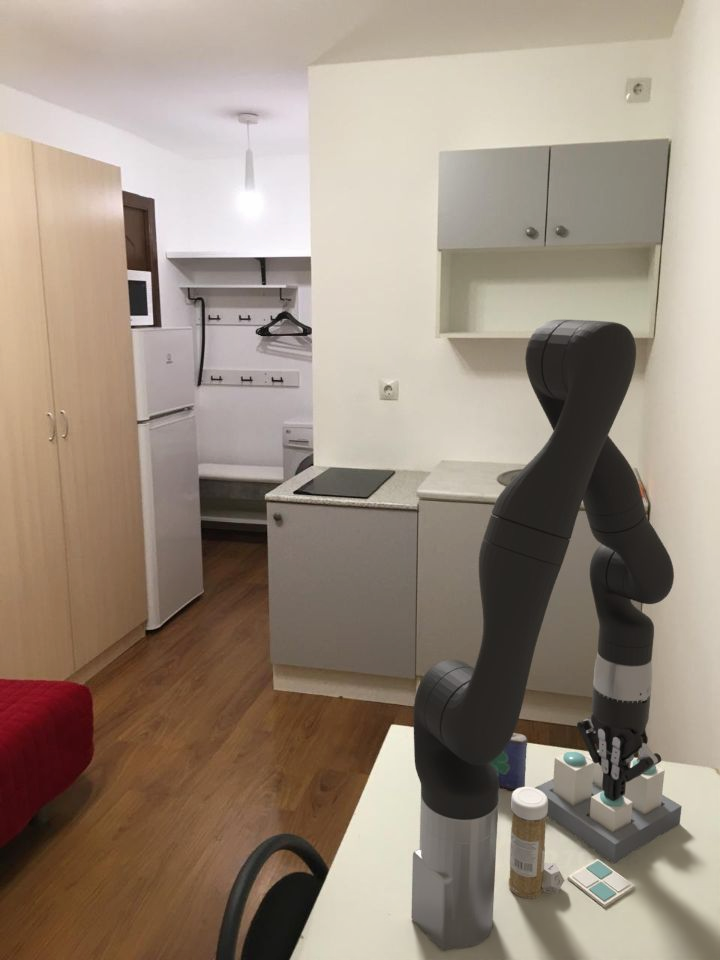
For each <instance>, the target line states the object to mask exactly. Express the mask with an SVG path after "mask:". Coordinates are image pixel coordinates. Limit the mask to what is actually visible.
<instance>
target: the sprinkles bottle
mask: <svg viewBox="0 0 720 960" xmlns="http://www.w3.org/2000/svg"><path fill="white" fill-rule="evenodd" d="M510 800H511V803H510V804H511V805H510V808H511V813H512V814H511V828H510V844H509V845H510V847H509V849H510V850H509V878H508V886H509V888H510V890H511V891H512V892H513V893H514V895H515V894H516V895H517V896H519V897H521V898H525V899H533V898H537V897H540V896H541V894H542V893H543V892H544V890H543V888H542V882H543V870H544V863H545V859H546V858H545V852H546V846H545V843H546V821H547V819H546V817H547V816H546V815H547V812H548V799H547V796H546V795H545V794H544V793H543V792H542V791H540V790H538V789H536V788H535V787H533V786H532V787H531V786H525V787H521V788H518V789H516V790H515V791H514V792H511V799H510Z"/></svg>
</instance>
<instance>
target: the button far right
mask: <svg viewBox="0 0 720 960" xmlns="http://www.w3.org/2000/svg"><path fill="white" fill-rule="evenodd" d="M637 759H638V758H636V759H633V760H632V761H631V765H630V768H632V767H633V766H634V765H636V764H637V763H639V762H637ZM664 781H665V769H663V768H661V767H660V766H658V765H657V764H656V765H655V766H653V767H652V768H650V769H649V770H647V771H646V772H644V773H643V774H641V775H640V776H638V777H635V778H634V779H632V780H631V781H629V782H626V787H625V794H624V797H625V798H627V799H629V800H630V801H632V802H633V803H632V808H634V809H635V810H637V811H638V812H640V813H641V814H643V815H647V814H649V813H650V812H652V811H654V810H656V809H657V808H659V807H661V801H662V795H663V790H664Z"/></svg>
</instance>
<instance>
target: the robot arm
mask: <svg viewBox="0 0 720 960" xmlns="http://www.w3.org/2000/svg"><path fill="white" fill-rule="evenodd" d="M525 349H526V351H525V357H524V358H525V359H524V360H525V370H526V373H527V377H528V380H529V383H530V386H531V388H532V390H533V392H534V394H535V397H536V399H537V400H538V402H539V404H540V406H541V408H542V410H543V412H544V413H545V416H546V418H547V420H548V422H549V424H550V426H551V428H552V431H553V432H552V433H551V435H550V437H549V438H548V440H547V442H545V444H544V446H543V447H542V448H541V450H540V451H539V452H538V453H537V454H536V455H535V456H534V457H533V458H532V459H531V460H530V461H528V463H527V464H526V465H525V466H524V467H523V468H522V469H521V470H520V471H519V472H518V473H517V474H516V475H515V476H514V477H513V478H512V479H511V481H510V482H509V483H508V484H507V485H506V486H505V487H504V488H503V490H502V491H501V493H500V494H499V496H498V497H497V498H496V500H495V503H494V505H493V508H492V511H491V514H490V517H489V519H488V524H487V527H486V529H485V532H484V535H483V538H482V542H481V544H480V549H479V554H478V556H479V557H478V578H479V579H478V580H479V582H478V583H479V589H480V598H481V608H482V617H483V618H482V621H483V623H482V637H481V641H480V642H481V644H480V647H479V648H480V649H479V652H478V656H477V660H476V662H475V665H474V667H473V666H471V665H470V664H468V663H466V662H464V661H463V660H462V661H461V660H458V659H446V660H445V659H444V660H442V661H439V662H437V663H436V664H434V665H433V666H431V667H430V668H429V669H428V670H427V671H426V672H425V673H424V676H423V677H422V678H421V680H420V682H419V683H418V687H417V690H416V693H415V695H414V696H415V697H414V704H413V714H412V715H413V720H412V721H413V722H412V723H413V750H414V752H413V753H414V766H415V770H416V773H417V777H418V779H419V782H420V815H419V817H420V818H419V820H420V821H419V848H418V849H417V850H416V849H415V851H414V852H413V853H412V873H411V876H412V880H411V881H412V882H411V914H410V915H411V919H412V921H413V922H414V923H415V924H416V925H418V927H419V928H420V929H421V930H422V931H423V932H424V934H426V935H427V937H429V939H430V940H431V941H432V942H433V943H434V944H435V945H436V946H437V947H438V948H439V949H440V950H441V951H445V950H447V949H449V948H463V949H464V948H468V947H473V946H475V945H478V944H480V943H482V942H484V940H485V939H487V938H488V937H489V935H490V933H491V931H492V928H493V921H494V906H495V905H494V901H495V880H496V879H495V878H496V864H497V863H496V860H497V859H496V857H497V838H498V818H499V799H500V788H499V780H498V776H497V774H496V771H495V770H494V768H493V766H492V765H491V763H490V762H492V761H493V760H494V759H496V758H497V757H498V756H499V755H500V754H501V753H502V752H503V751H504V749H505V748H506V746H507V745H508V743H509V742H510V740H511V738H512V735H513V733H515V730H516V728H517V725H518V722H519V718H520V715H521V711H522V708H523V702H524V699H525V694H526V688H527V685H528V680H529V675H530V670H531V666H532V662H533V658H534V654H535V649H536V646H537V642H538V639H539V635H540V631H541V629H542V626H543V622H544V619H545V615H546V611H547V609H548V605H549V603H550V600H551V595H552V593H553V590H554V587H555V584H556V581H557V579H558V577H559V573H560V571H561V568H562V566H563V563H564V560H565V557H566V553H567V550H568V549H569V544H570V541H571V538H572V535H573V532H574V528H575V523H576V521H577V516H578V515H579V512H580V508H581V505H582V503H583V507H584V510H585V514H586V517H587V521H588V525H589V528H590V531H591V533H592V536H593V537H594V539H595V540H596V541H597V542H598V543H600V545H598V547H597V548H596V550H595V551H594V552H593V554H592V557H591V559H590V564H589V581H590V587H591V592H592V596H593V601H594V605H595V611H596V615H597V619H598V624H599V625H598V627H599V628H598V641H597V653H596V658H595V661H594V662H595V663H594V671H593V681H592V683H593V684H592V698H591V699H592V700H591V713H592V714H591V715H590V717H587V718H585V719H583V720H581V721H578V722H577V724H576V726H577V729H578V732H579V733H580V734H579V735H581V739H582V740H583V743H584V745H585V747H586V749H587V751H588V755H589V754H590V756H591V758H592V761H593V762H594V763H598V764H599V765H600V766H601V769H602V771H603V782H602V788H603V791H604V796H606V797H607V798H609V799H610V800H612V801H615V800H617V799H619V798H621V797H622V796H624V794H625V787H626V782H629V781H631V780H632V779H634V778H635V777H638V776H640V775H641V774H643V773H644V772H646V771H647V770H649V769H650V768H652V767H653V766H655V765H656V766H657V765H658V764H659V763H661V761H662V757H661V755H660V754H659V753H657V752H656V753H653V751H652V750H651V748H650V747H649V746H648V742H649V741H648V740H649V739H648V734H647V731H646V730H647V729H646V728H647V724H648V722H649V718H650V706H651V697H652V696H651V694H652V683H653V663H652V662H653V661H652V660H653V659H652V657H653V646H654V637H655V626H654V622H653V621H652V619H651V618H650V617H649V616H648V615H647V614H645V613H644V612H643V611H641V610H640V609H638V608H637V607H636V606H635V605H634V603H632V601H635V602H637V603H640V604H644V605H645V604H646V605H655V604H657V603H660V602H662V601H663V600H664V599H666V598H667V596H669V594H670V592H671V590H672V588H673V585H674V579H675V572H674V566H673V562H672V559H671V557H670V556H671V555H670V554H669V552H668V550H667V548H666V546H665V545H664V543H663V542H662V540H661V539H660V537H659V535H658V533H657V531H656V529H655V528H654V527H653V525H652V523H650V521H649V519H648V516H647V513H646V508H645V503H644V499H643V496H642V492H641V488H640V483H639V482H638V478H637V475H636V474H635V471H634V470H633V468H632V466H631V464H630V462H629V461H628V459H626V457H625V455H624V454H623V453H622V452H621V450H620V449H619V448H618V446H617V445H616V443H614V441H613V440H612V439H611V437H610V436H609V434H610V432H611V429H612V427H613V425H614V422H615V420H616V418H617V416H618V413H619V412H620V409H621V407H622V405H623V402H624V400H625V398H626V395H627V394H628V390H629V388H630V386H631V382H632V379H633V374H634V371H635V367H636V360H637V345H636V340H635V338H634V336H633V333H632V332H631V330H630V329H629V328H628V327H627V326H626V325H624V324H622V323H620V322H615V321H604V320H603V321H601V320H589V319H587V320H583V319H581V320H580V319H553V320H549V321H546V322H544V323H543V324H540V325H539V326H538V327H537V328H536V329H535V330H534V332H533V333H532V335H531V336H530V339H529V340H528V342H527V346H526V348H525ZM595 745H596V746H595ZM597 749H598V750H599V752H597V751H598V750H597ZM638 752H639V754H638V756H637V758H636V759H637V762H639V763H637V764H636V765H634V766H633V767H632V768H630V765H631V762H632V761H634V758H635V754H636V753H638Z"/></svg>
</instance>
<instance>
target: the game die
mask: <svg viewBox="0 0 720 960" xmlns="http://www.w3.org/2000/svg"><path fill="white" fill-rule="evenodd" d="M564 883H565V878H564V877H563V875H562V872H561V871H560V869H559V867H558V864H557V863H554V862H547V861H544V870H543V882H542V888H543V892H544V893H549V894H555V895H556V894H557V892H559V891H560V890H561V888H562V886H563V884H564Z"/></svg>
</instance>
